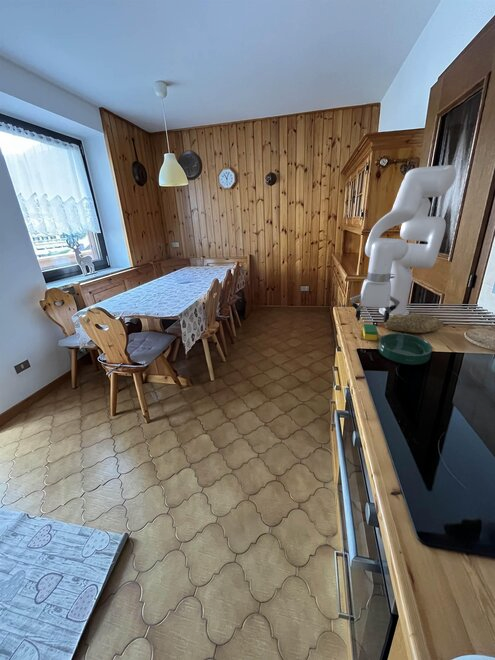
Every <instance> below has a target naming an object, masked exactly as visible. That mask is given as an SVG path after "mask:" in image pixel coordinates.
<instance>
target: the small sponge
mask: <svg viewBox="0 0 495 660" xmlns="http://www.w3.org/2000/svg"><path fill="white" fill-rule="evenodd" d="M378 333H379V331H378V328H377V325H376V324H367V323H363V326H362V335H363V340H364V341H365V340H367V341H377V340H378V335H379V334H378Z"/></svg>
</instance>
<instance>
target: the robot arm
mask: <svg viewBox="0 0 495 660" xmlns="http://www.w3.org/2000/svg"><path fill="white" fill-rule="evenodd" d="M456 177H457V169H456V167H455V166H454V165H452V164H444V165H443V164H442V165H434V166H433V165H432V166H420V167H416V168H412V169H410V170H408V171H406V173H405V175H404V178H403V180H402V181H401V184H400V187H399V189H398V191H397V195H396V198H395V200H394V203H393V206H392V208H391V210H390V211H389V212H388V213H386V214H384V216H382V217H381V218H380V219H378V221H377V222H376V223H375V224H374V225H373V226H372V227H371V230H370V232H369V235H368V237H367V240H366V243H365V246H364V253H365V255H366V257H368V258H369V261H368V262H369V263H368V269H367V276H366V278H365V279H364V280H363V283H362V286H361V289H360V290H361V291H360V294H358V295H355V296H352V297H350V299H349V300H350V303H351V306H352V307H353V308H354V309H355V319H356V321H357V322H359V321H360V320H361V312H362V311H361V310H362V309H363V308H375V309H376V308H378V312H379V314H381V315H383V319H382V320H383V323H386V322H387V320H388V319H389V315H397V314H402V315H408V314H410V311H409V310H408V309H407V307H408V301H409V296H410V293H411V289H412V288H411V287H412V282H413V273H412V270H411V269H410V268H416V269H424V270H425V269H426V270H427V269H431V268H433V267H434V266H435V264H436V262H437V259H438V256H439V253H440V249H441V246H442V242H443V239H444V236H445V233H446V227H447V222H446V220H445V218H443V217H441V216H429V213H430V210H431V204H432V203H431V201H430V199H429V198H439V197H441V196H443V195H445V193H446V192H447V191H448V190H450V189H451V188H452V186H453V184H454V183H455V180H456ZM400 225H401V226H400ZM396 226H400V232H399V236H400V238H390V237H381V236H382V234H383V233H385V232H386V231H387V230H389V229H391V228H394V227H396ZM407 241H413V243H412V242H407ZM414 242H426V244H425V243H414ZM356 301H359V303H358V304H357V303H356Z"/></svg>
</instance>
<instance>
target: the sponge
mask: <svg viewBox="0 0 495 660" xmlns="http://www.w3.org/2000/svg"><path fill="white" fill-rule="evenodd" d="M383 323H384V324H383V325H384V328H385V329H387V330H389V331H396V332H403V333H411V334H412V333H414V334H426V333H430V332H438V331H440V330H442V329H443V328H444V324H445V322H444V321H442V320H440V318H438V317H435V316H431V315H427V314H421V313H409V314H408V315H402V314H397V315H389V319H388V320H387V322H386V323H385V322H383Z"/></svg>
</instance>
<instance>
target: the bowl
mask: <svg viewBox="0 0 495 660" xmlns="http://www.w3.org/2000/svg"><path fill="white" fill-rule="evenodd" d="M377 347H378V352H379V354H381V356H383V357H384V358H386V359H388V360H390V361H392V362H395V363H398V364H403V365H411V366H412V365H414V366H416V365H422V364H426V363H427V362H429V361H430V360H431V357H432V352H433V346H432V344H431V343H430V342H429V341H428V340H426V339H424V338H422V337H420V336H417V335H414V334H409V333H404V332H403V333H401V332H400V333H399V332H392V333H387V334H384V335H382V336H381V337H380V338H379V341H378V346H377Z"/></svg>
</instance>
